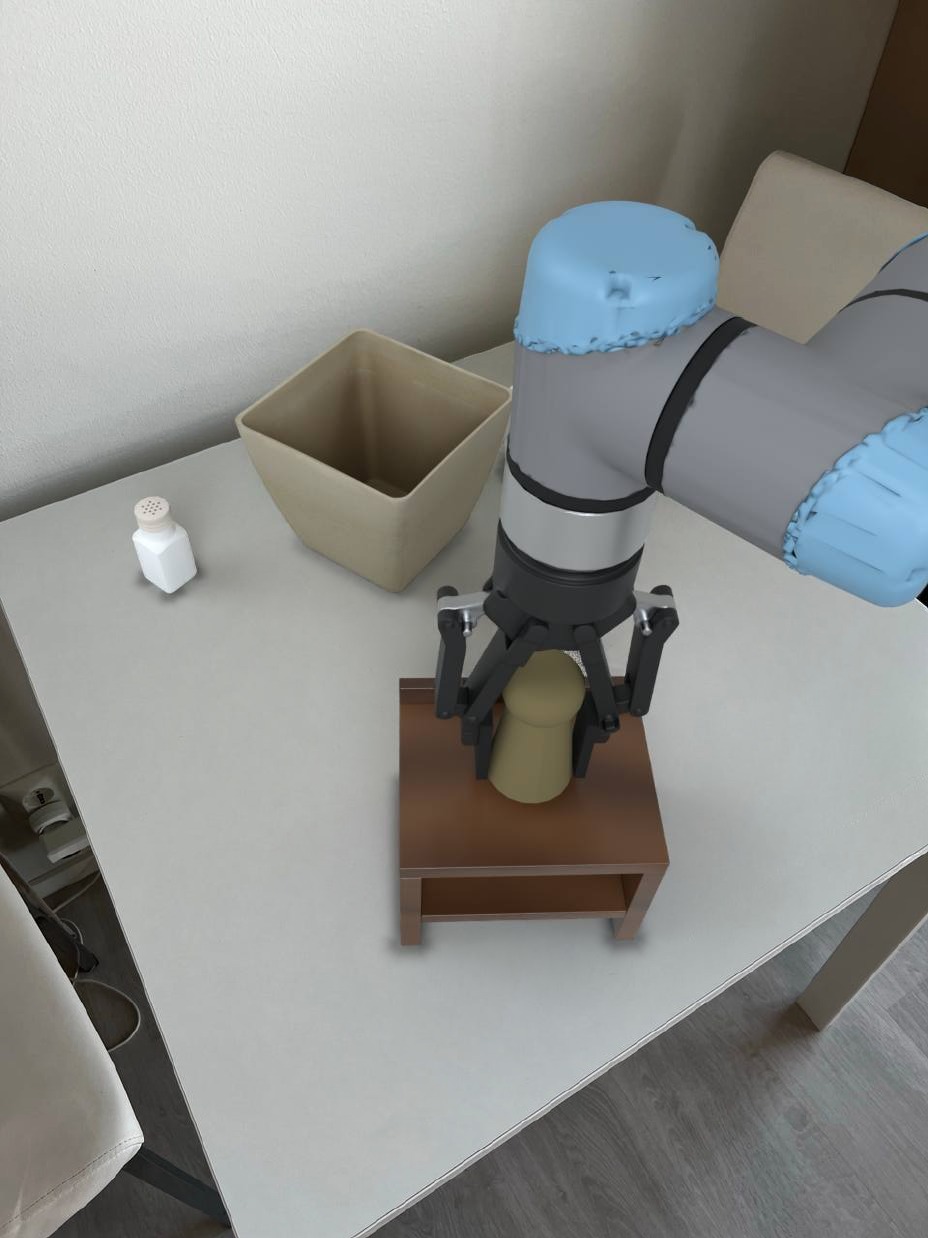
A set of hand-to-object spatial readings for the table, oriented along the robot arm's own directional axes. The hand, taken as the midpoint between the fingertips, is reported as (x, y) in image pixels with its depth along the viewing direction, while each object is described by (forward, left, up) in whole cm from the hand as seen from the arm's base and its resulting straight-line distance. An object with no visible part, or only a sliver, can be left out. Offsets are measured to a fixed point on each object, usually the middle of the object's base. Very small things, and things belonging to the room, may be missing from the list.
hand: (529, 761), depth 66 cm
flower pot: (+37, +11, -15) cm, 42 cm away
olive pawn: (0, 0, 0) cm, 1 cm away
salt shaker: (+31, +32, -15) cm, 47 cm away
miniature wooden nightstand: (0, 0, -15) cm, 15 cm away
